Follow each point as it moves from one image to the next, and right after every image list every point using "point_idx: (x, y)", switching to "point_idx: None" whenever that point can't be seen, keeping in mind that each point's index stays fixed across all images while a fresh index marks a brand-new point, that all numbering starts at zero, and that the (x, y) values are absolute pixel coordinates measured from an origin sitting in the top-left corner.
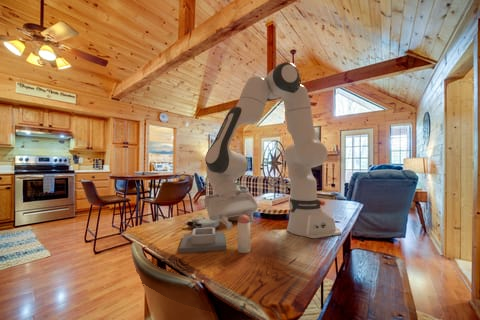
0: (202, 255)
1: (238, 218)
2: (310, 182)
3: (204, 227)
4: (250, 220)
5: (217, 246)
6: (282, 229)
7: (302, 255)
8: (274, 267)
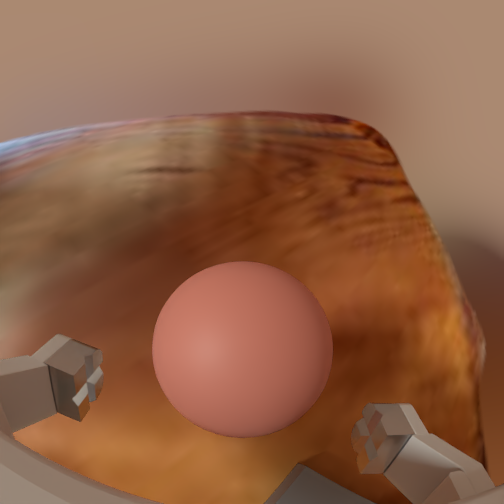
0: None
1: (317, 390)
2: None
3: None
4: (84, 366)
5: (348, 490)
6: None
7: (105, 165)
8: (257, 192)
